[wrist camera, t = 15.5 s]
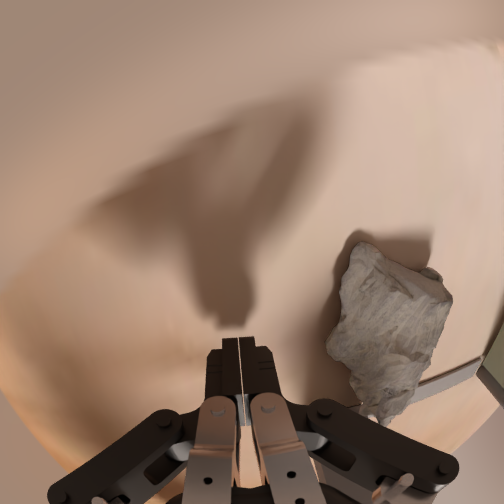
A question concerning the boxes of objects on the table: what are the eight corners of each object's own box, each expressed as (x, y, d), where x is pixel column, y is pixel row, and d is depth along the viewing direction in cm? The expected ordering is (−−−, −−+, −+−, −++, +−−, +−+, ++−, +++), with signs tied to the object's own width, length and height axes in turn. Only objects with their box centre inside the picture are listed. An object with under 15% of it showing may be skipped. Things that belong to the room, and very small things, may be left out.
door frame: (495, 365, 20) (537, 416, 11) (302, 434, 18) (330, 540, 9) (506, 343, 19) (554, 393, 9) (307, 412, 17) (342, 533, 8)
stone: (296, 404, 17) (310, 451, 13) (339, 238, 12) (383, 279, 9) (375, 391, 18) (395, 430, 14) (435, 244, 13) (483, 276, 9)
